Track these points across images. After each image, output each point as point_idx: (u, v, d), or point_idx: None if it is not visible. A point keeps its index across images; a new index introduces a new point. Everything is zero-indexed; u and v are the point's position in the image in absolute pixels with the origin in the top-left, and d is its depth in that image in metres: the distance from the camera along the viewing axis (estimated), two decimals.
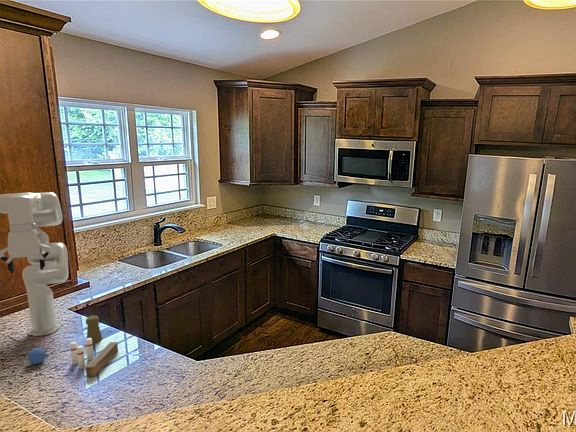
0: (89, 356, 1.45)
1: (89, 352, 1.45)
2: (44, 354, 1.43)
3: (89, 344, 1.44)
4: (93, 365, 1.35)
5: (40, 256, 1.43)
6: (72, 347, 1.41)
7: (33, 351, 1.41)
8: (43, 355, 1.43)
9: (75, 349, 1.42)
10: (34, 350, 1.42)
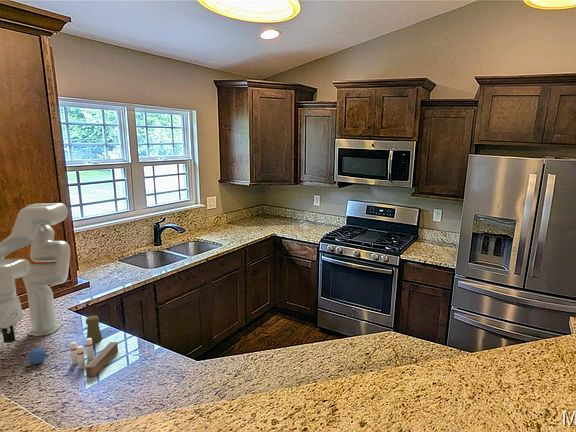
0: (89, 356, 1.45)
1: (89, 352, 1.45)
2: (44, 354, 1.43)
3: (89, 344, 1.44)
4: (93, 365, 1.35)
5: None
6: (72, 347, 1.41)
7: (33, 351, 1.41)
8: (43, 355, 1.43)
9: (75, 349, 1.42)
10: (34, 350, 1.42)
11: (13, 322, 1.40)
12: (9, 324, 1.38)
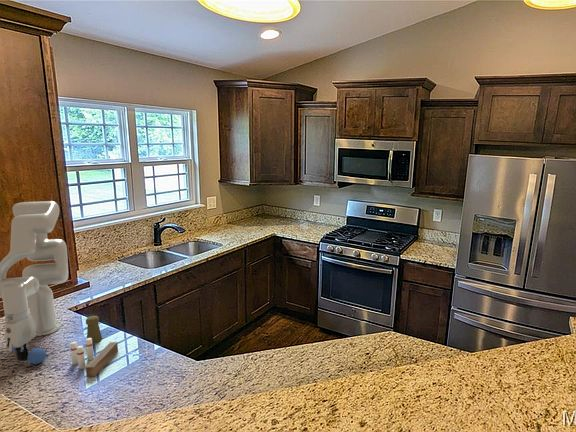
0: (89, 356, 1.45)
1: (89, 352, 1.45)
2: (44, 354, 1.43)
3: (89, 344, 1.44)
4: (93, 365, 1.35)
5: None
6: (72, 347, 1.41)
7: (33, 351, 1.41)
8: (43, 355, 1.43)
9: (75, 349, 1.42)
10: (34, 350, 1.42)
11: (26, 341, 1.41)
12: (22, 343, 1.39)
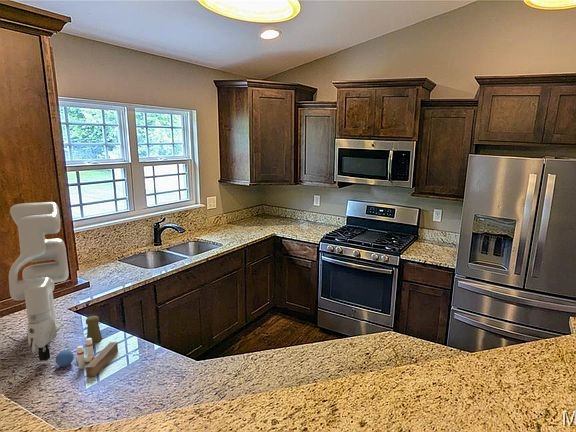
0: None
1: (89, 352, 1.45)
2: None
3: (89, 344, 1.44)
4: (93, 365, 1.35)
5: None
6: None
7: None
8: None
9: None
10: None
11: (48, 341, 1.41)
12: (45, 343, 1.40)
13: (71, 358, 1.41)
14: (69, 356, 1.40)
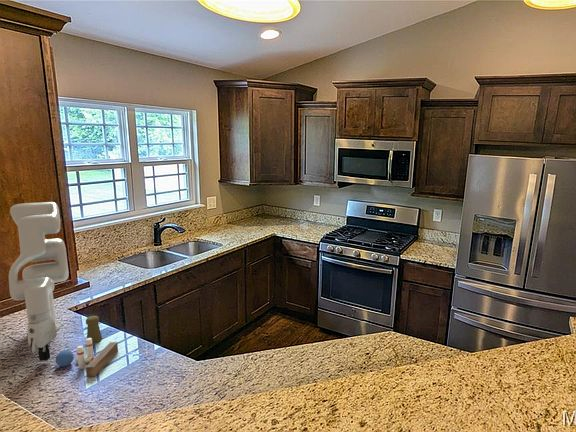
0: (89, 356, 1.45)
1: (89, 352, 1.45)
2: None
3: (89, 344, 1.44)
4: (93, 365, 1.35)
5: None
6: None
7: None
8: None
9: None
10: None
11: (48, 341, 1.41)
12: (45, 343, 1.40)
13: (71, 358, 1.41)
14: (69, 356, 1.40)
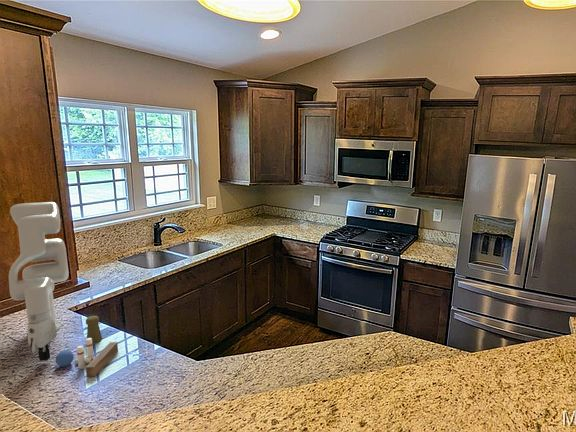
0: (89, 356, 1.45)
1: (89, 352, 1.45)
2: None
3: (89, 344, 1.44)
4: (93, 365, 1.35)
5: None
6: None
7: None
8: None
9: None
10: None
11: (48, 341, 1.41)
12: (45, 343, 1.40)
13: (71, 358, 1.41)
14: (69, 356, 1.40)
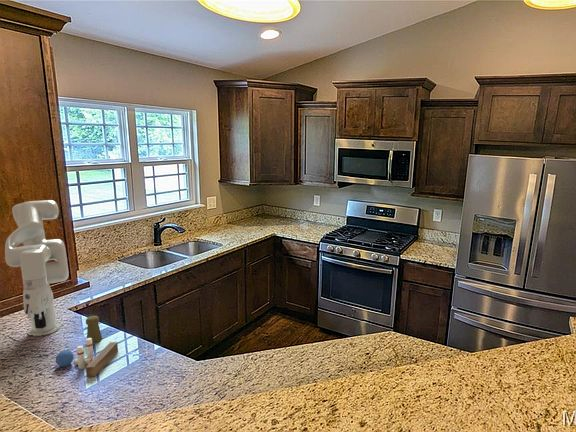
0: (89, 356, 1.45)
1: (89, 352, 1.45)
2: None
3: (89, 344, 1.44)
4: (93, 365, 1.35)
5: None
6: None
7: None
8: None
9: None
10: None
11: (44, 308, 1.39)
12: (41, 310, 1.37)
13: (71, 358, 1.41)
14: (69, 356, 1.40)
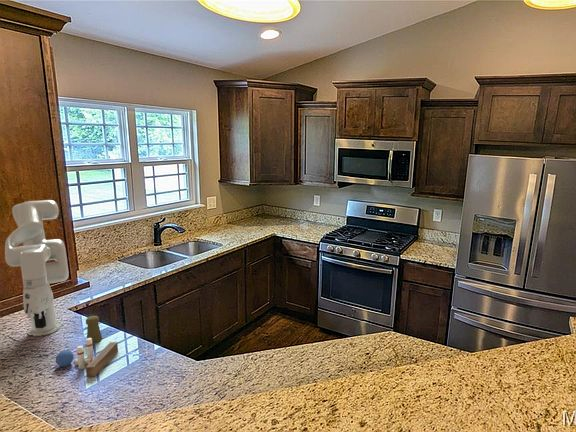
0: (89, 356, 1.45)
1: (89, 352, 1.45)
2: None
3: (89, 344, 1.44)
4: (93, 365, 1.35)
5: None
6: None
7: None
8: None
9: None
10: None
11: (44, 307, 1.39)
12: (41, 309, 1.37)
13: (71, 358, 1.41)
14: (69, 356, 1.40)
